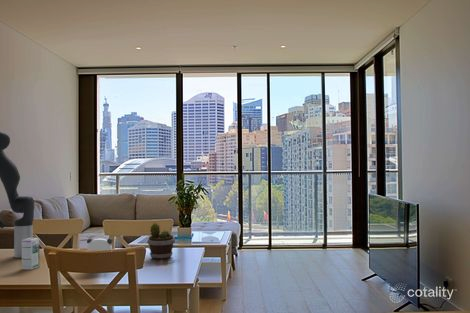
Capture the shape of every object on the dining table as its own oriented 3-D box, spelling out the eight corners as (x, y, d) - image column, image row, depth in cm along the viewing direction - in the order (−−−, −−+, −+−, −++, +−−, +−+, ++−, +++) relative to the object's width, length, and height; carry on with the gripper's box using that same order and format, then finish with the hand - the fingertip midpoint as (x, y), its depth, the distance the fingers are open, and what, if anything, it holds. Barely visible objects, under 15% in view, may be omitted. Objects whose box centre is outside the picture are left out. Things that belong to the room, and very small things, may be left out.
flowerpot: (177, 255, 240) (177, 219, 240) (171, 261, 224) (170, 222, 225) (152, 255, 241) (152, 219, 241) (143, 261, 226) (143, 222, 226)
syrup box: (32, 269, 209) (32, 239, 209) (21, 269, 210) (21, 239, 210) (39, 267, 214) (39, 237, 214) (29, 266, 215) (29, 237, 216)
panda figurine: (114, 266, 214) (114, 236, 214) (110, 272, 203) (110, 240, 203) (88, 267, 212) (88, 236, 213) (84, 273, 201) (84, 240, 201)
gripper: (-19, 197, 196) (11, 222, 202) (-21, 195, 207) (8, 219, 213) (-33, 209, 193) (-2, 234, 199) (-34, 207, 204) (-4, 231, 210)
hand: (3, 226), depth 206 cm, fingers closed
